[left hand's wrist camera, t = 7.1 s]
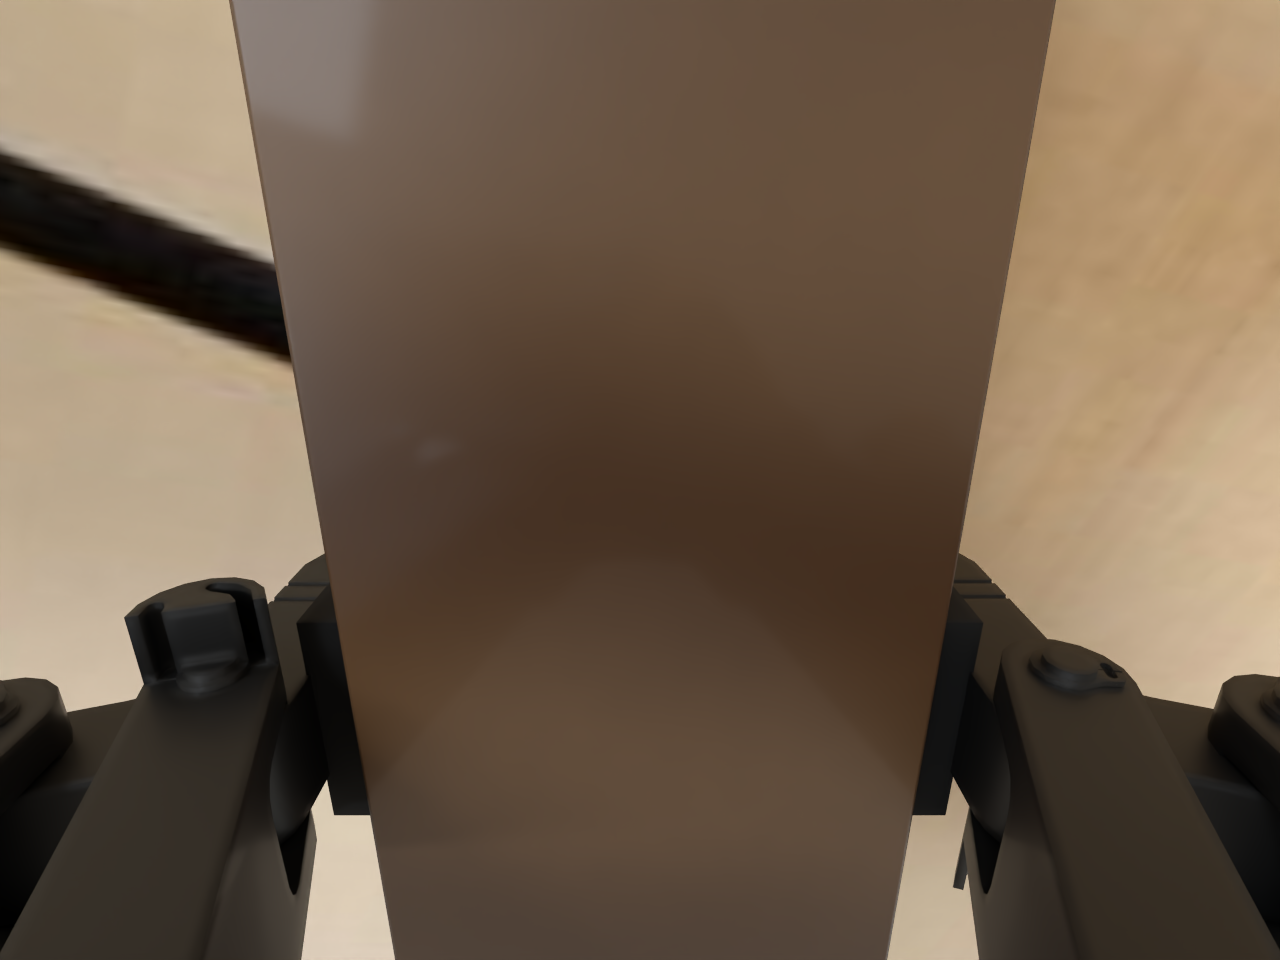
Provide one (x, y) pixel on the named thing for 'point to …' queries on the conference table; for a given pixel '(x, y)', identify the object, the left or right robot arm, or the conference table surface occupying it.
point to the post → (641, 439)
